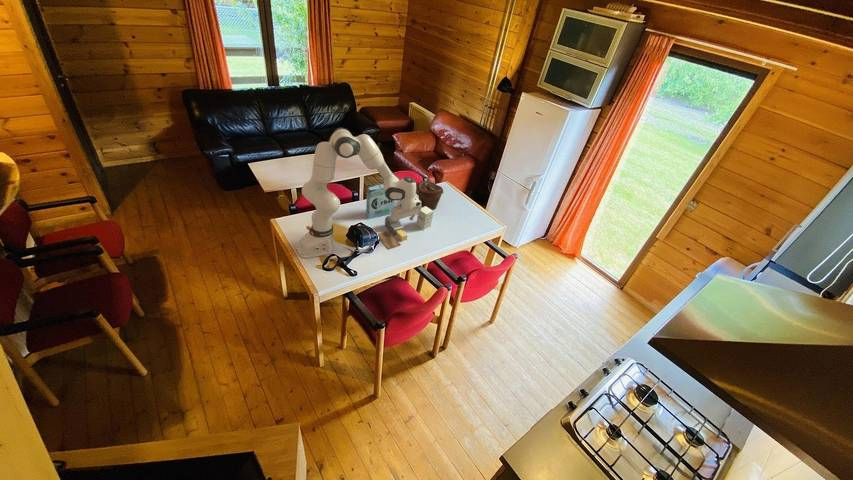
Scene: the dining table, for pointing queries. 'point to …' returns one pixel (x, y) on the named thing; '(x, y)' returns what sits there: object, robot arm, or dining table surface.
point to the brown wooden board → (388, 240)
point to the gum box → (377, 202)
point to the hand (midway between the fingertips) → (405, 221)
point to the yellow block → (401, 235)
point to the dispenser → (392, 225)
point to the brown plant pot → (429, 194)
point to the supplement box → (424, 218)
